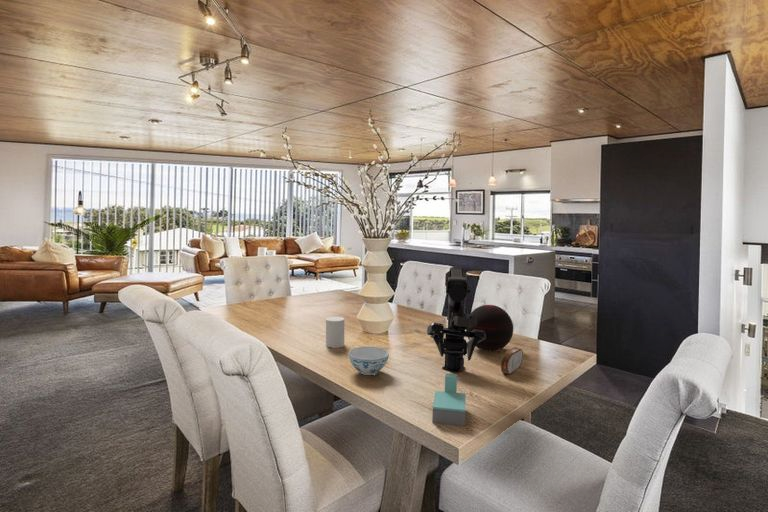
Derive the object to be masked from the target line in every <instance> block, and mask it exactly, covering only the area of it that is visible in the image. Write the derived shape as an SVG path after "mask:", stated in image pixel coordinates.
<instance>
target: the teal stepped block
mask: <svg viewBox="0 0 768 512" xmlns="http://www.w3.org/2000/svg"><path fill="white" fill-rule="evenodd" d="M444 375H445V376H444V391H442V390H435V391H434V398H433V402H432V403H433V404H432V410H433V409H440V410H450V411H460V412H465V413H466V408H467V407H466V396H467V395H466V392H464V393H463V392H457V384H458V374H456V373H445V374H444Z"/></svg>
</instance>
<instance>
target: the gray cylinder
mask: <svg viewBox="0 0 768 512" xmlns="http://www.w3.org/2000/svg"><path fill="white" fill-rule="evenodd" d="M325 346H327V347H326V348H329V347H332V348H331V349H340V348H339V347H341V348H343V347H345V318H344V317H342V316H329V317H326V318H325ZM342 346H343V347H342Z"/></svg>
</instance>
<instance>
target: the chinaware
mask: <svg viewBox="0 0 768 512" xmlns="http://www.w3.org/2000/svg"><path fill="white" fill-rule="evenodd" d="M389 356H390V351H389V350H388V349H386V348H383V347H380V346H373V345H372V346H371V345H370V346H369V345H368V346H366V345H365V346H358V347H354V348H351V349H350V350H349V351H348V358H349V361H350V363H351V366H353V368H354V369H355V370H357V371H358V372H360V373H361V374H364V375H374V374H376V375H378V373H379V372H380V371H381V370H382V369H383V368H384V367H385V366H386V364H387V362H388V360H389ZM360 373H359V374H360ZM361 374H360V375H361ZM374 376H375V375H374Z"/></svg>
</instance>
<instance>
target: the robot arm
mask: <svg viewBox="0 0 768 512" xmlns="http://www.w3.org/2000/svg"><path fill="white" fill-rule="evenodd" d="M463 269H464V268H463V267H461V266H451V267H449V271H447V272H446V273H445V276H444V277H445V279H444V280H445V284H444V286H445V294H447V295H448V300H447V302H448V304H447V317H446V321H447V327H444V324H443V323H438V322H432V323H431V324H430V325H429V326H427V329H426V334H427V336H430V338H431V339H433V342H434V343H435V345H436V347H437V349H438V352H439V355H440V357H444V366H442V368H441V369H443V370H445V371H446V370H447V371H450V372H453V373H458V372H461V371H463V370H464V369H466V367H465V364H464V363H465V357H464V356H466V355H467V361H471V359H472V356H473V353H474V352H475V348H476V344H477V343H479V342H481V341H483V340H484V339H486V334H485V332H484V331H483V330H477V329H474V330H472V331H471V332H468V331H466V330H467V329H468V328H471V326H476V325H477V317H476V316H470V317H469V316H468V315H467V313H466V301H467V295H469V294H470V293H471V286H470V283H469V282H468V281H467V274H466V272H464V270H463ZM468 317H469V318H468ZM444 335H445V336H444ZM465 338H467V339H468V341H467V339H465Z"/></svg>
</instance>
